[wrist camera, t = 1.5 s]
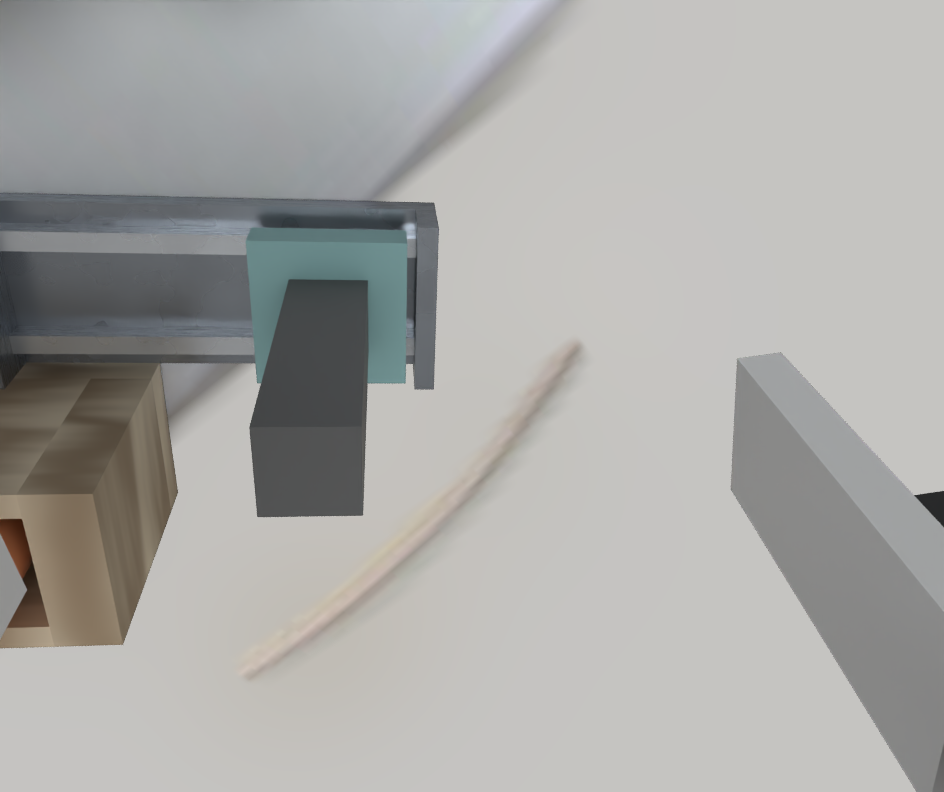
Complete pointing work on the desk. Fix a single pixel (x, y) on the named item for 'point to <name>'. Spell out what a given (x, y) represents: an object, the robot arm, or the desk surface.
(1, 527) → the orange cylinder
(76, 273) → the rail track
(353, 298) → the carriage
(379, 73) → the desk surface
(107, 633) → the wooden box
